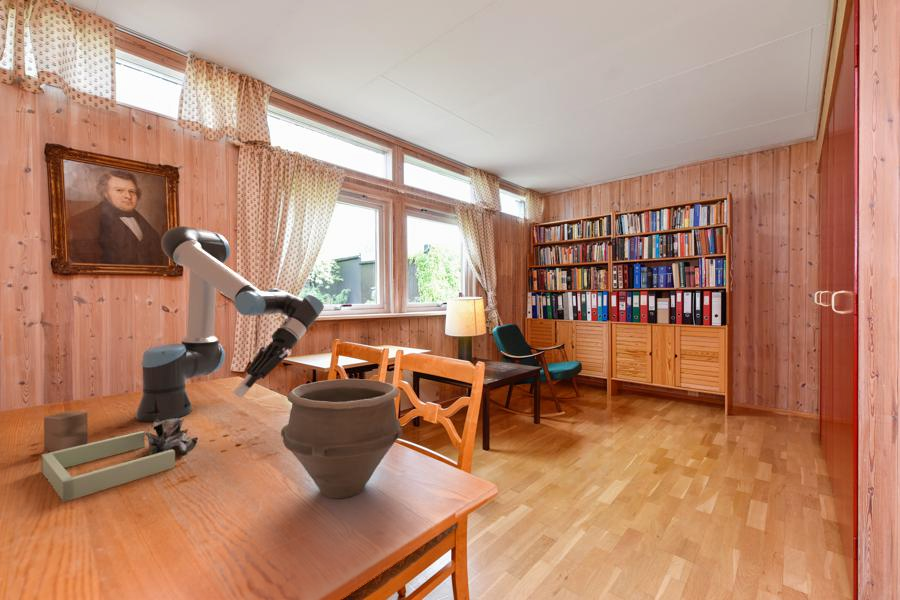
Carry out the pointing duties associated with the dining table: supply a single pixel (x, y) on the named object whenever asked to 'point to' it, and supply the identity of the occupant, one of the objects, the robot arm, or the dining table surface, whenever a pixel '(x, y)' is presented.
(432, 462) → the dining table surface
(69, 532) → the dining table surface
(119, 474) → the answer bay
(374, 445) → the planter
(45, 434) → the walnut block
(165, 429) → the grey crumpled lump
